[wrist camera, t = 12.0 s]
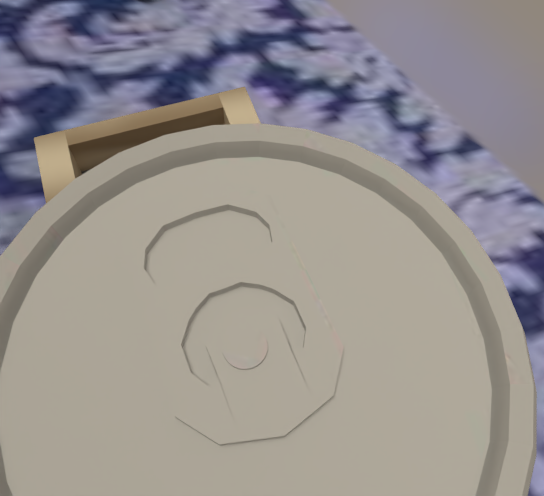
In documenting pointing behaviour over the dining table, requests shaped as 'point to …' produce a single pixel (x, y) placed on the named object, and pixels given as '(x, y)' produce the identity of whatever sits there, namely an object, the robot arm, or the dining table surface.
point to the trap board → (132, 134)
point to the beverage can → (258, 331)
